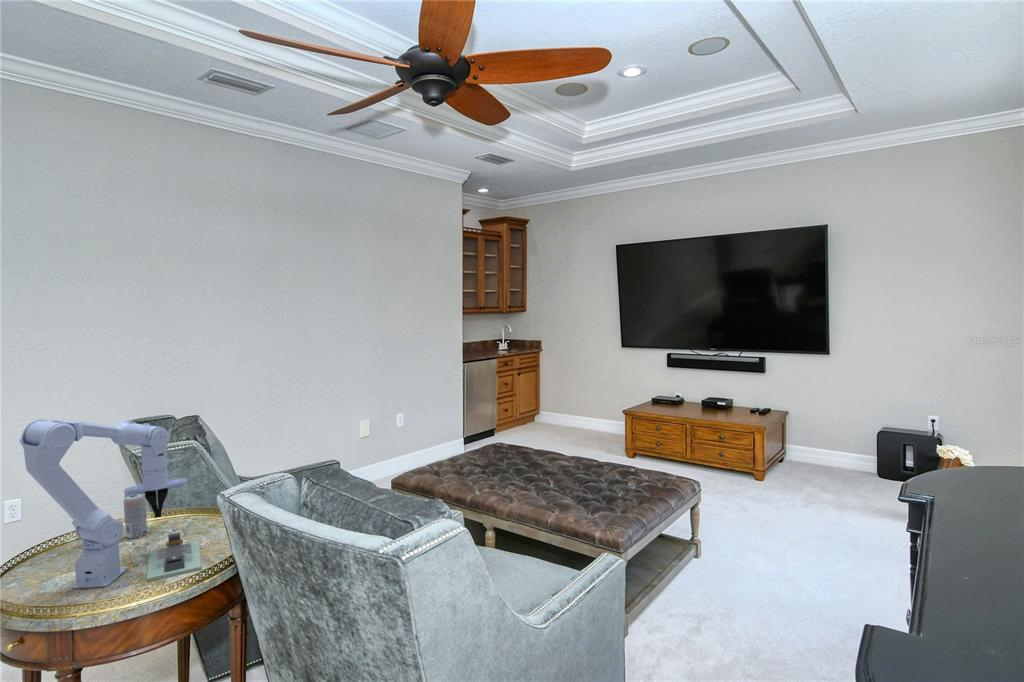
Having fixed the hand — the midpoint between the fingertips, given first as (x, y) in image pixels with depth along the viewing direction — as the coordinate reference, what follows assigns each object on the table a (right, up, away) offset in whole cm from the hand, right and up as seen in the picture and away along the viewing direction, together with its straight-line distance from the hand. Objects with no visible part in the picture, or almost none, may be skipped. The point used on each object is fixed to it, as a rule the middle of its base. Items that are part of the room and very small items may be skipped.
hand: (158, 516), depth 154 cm
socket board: (+7, -11, -5) cm, 14 cm away
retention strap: (+8, -8, -5) cm, 12 cm away
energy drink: (-14, -10, +12) cm, 21 cm away
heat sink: (+7, -11, -5) cm, 14 cm away
